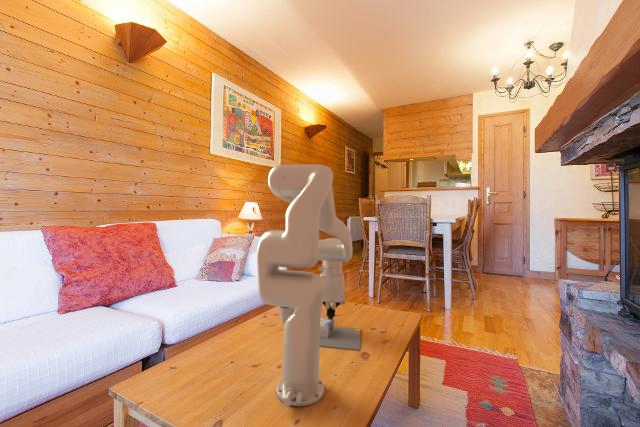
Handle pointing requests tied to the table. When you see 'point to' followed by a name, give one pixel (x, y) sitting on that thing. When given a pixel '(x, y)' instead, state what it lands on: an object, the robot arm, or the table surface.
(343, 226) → the robot arm
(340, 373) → the table surface
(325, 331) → the medicine box
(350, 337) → the mat
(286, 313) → the house plant
